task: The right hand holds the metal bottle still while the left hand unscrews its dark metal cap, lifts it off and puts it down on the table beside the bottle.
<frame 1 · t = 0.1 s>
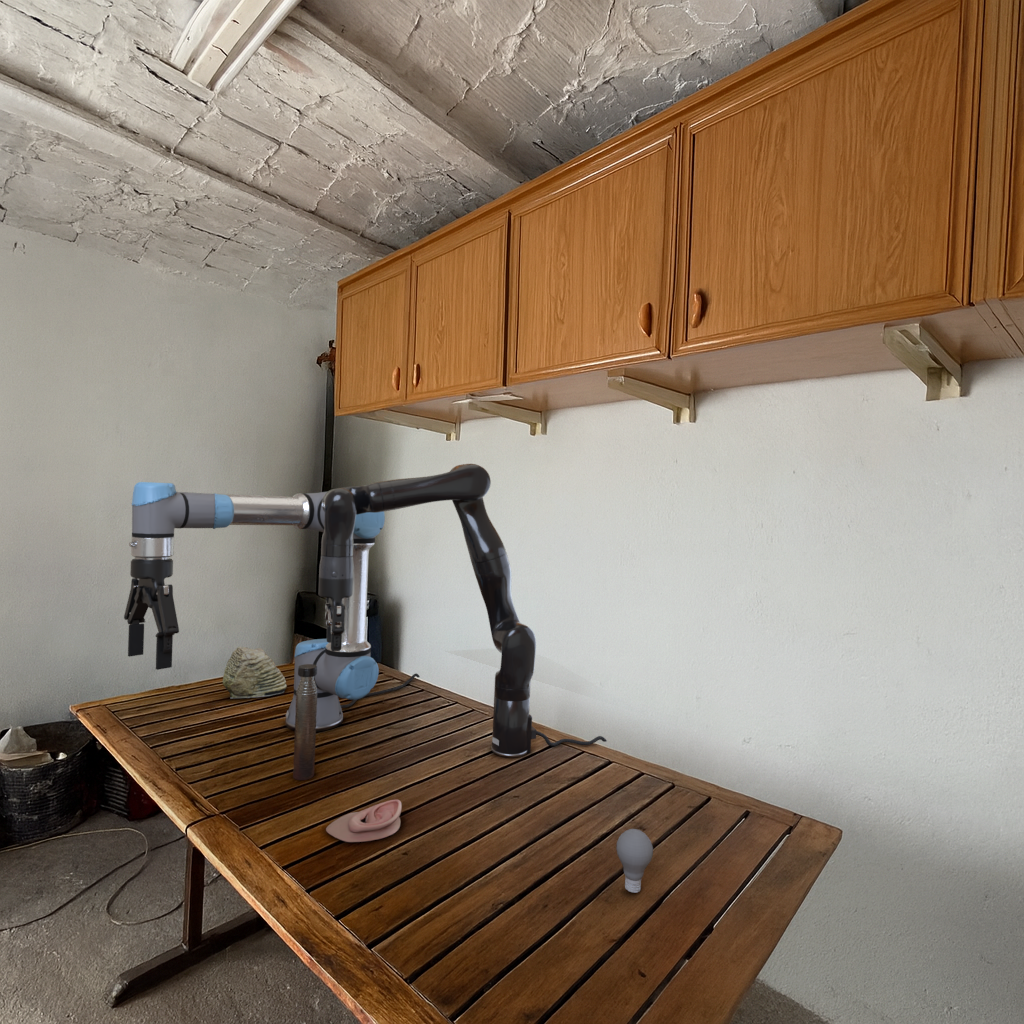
left hand: (149, 661, 129), 28 cm above the table, tool pointing down, fingers open, 13 cm apart
right hand: (333, 646, 145), 29 cm above the table, tool pointing down, fingers open, 8 cm apart
bottle: (303, 775, 143), on the table
fossil: (254, 694, 198), on the table
cap: (307, 667, 143), point 25 cm above the table, screwed on, not yet turned
light bulb: (632, 891, 106), on the table
anatomical model: (364, 828, 122), on the table
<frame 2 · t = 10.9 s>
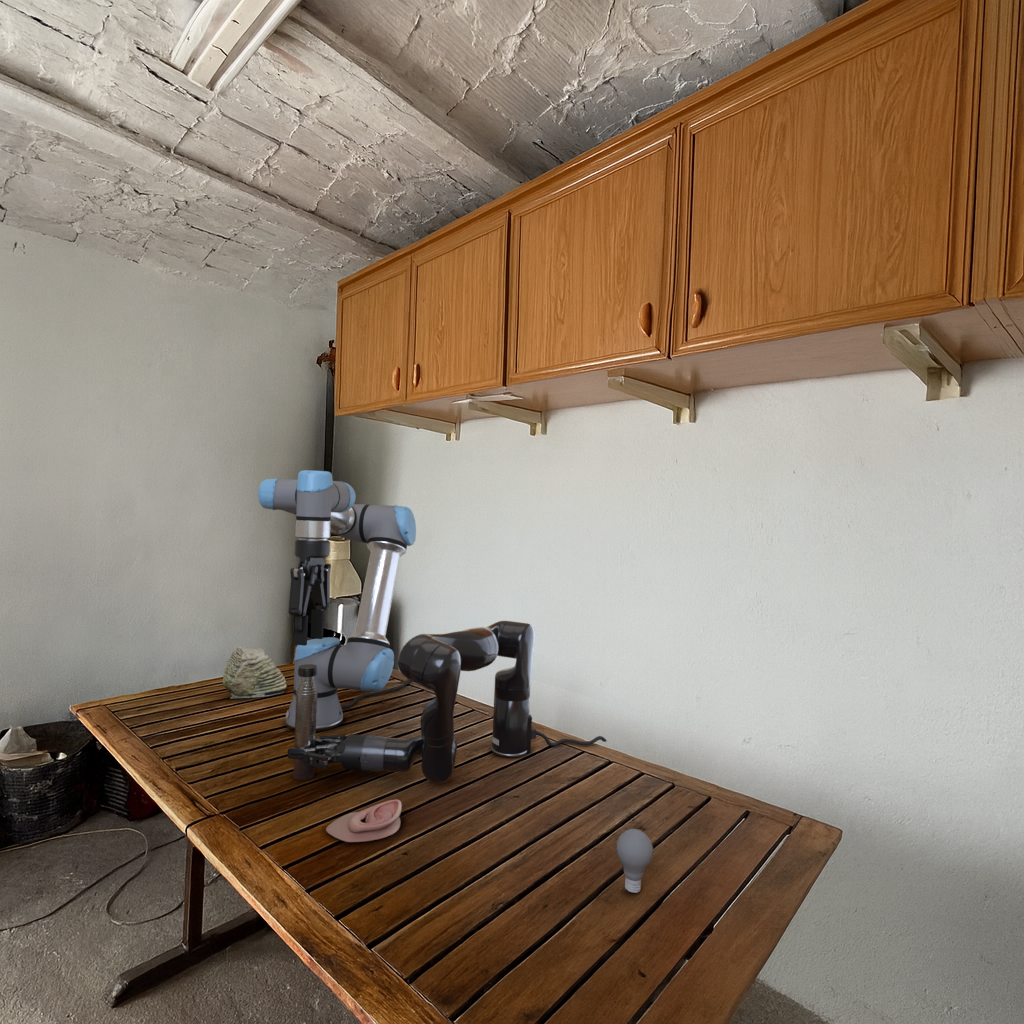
left hand: (308, 641, 143), 31 cm above the table, tool pointing down, fingers open, 6 cm apart
right hand: (293, 748, 143), 6 cm above the table, tool horizontal, fingers closed on bottle, 4 cm apart
bottle: (303, 775, 143), on the table, touching right hand
everything else where it was.
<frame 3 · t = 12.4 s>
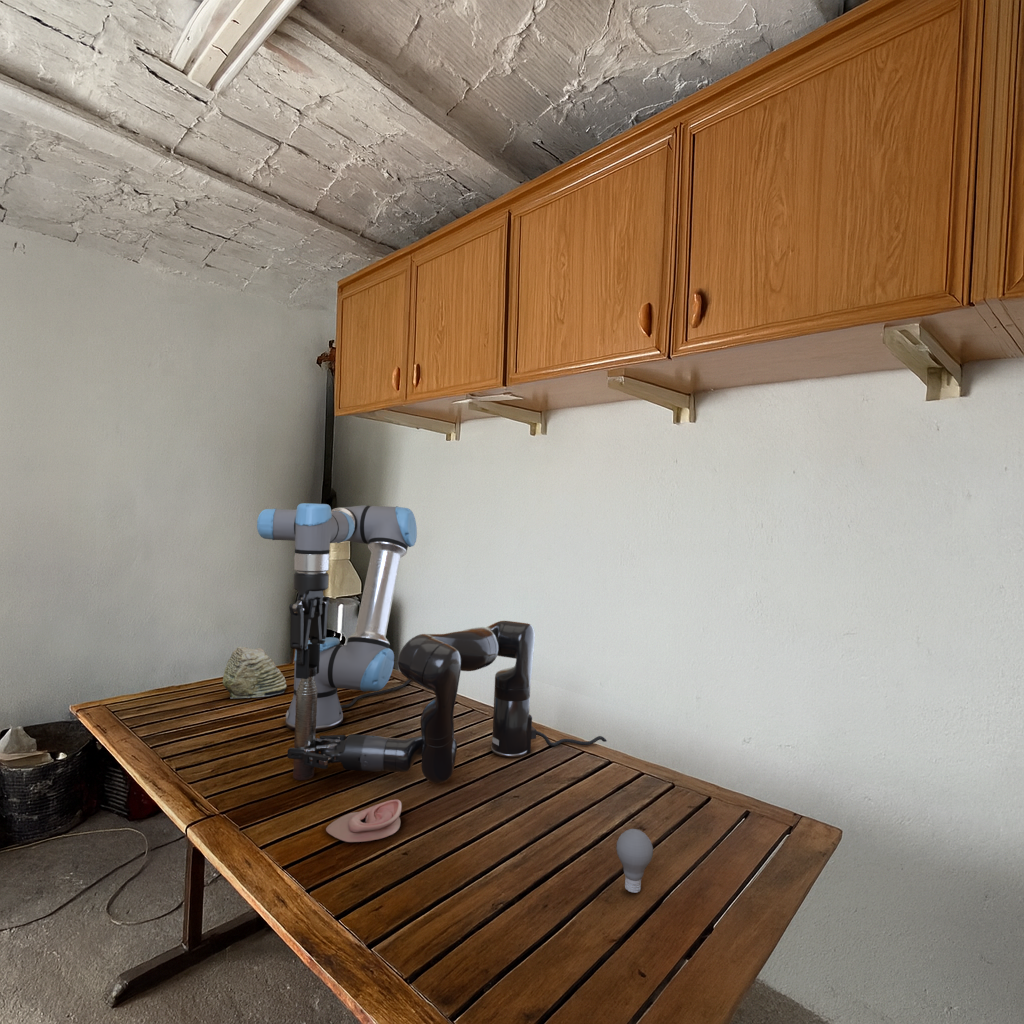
left hand: (307, 675, 143), 23 cm above the table, tool pointing down, fingers closed on cap, 4 cm apart
right hand: (293, 748, 143), 6 cm above the table, tool horizontal, fingers closed on bottle, 4 cm apart
bottle: (303, 775, 143), on the table, touching right hand
cap: (307, 667, 143), point 25 cm above the table, screwed on, not yet turned, touching left hand
everything else where it was.
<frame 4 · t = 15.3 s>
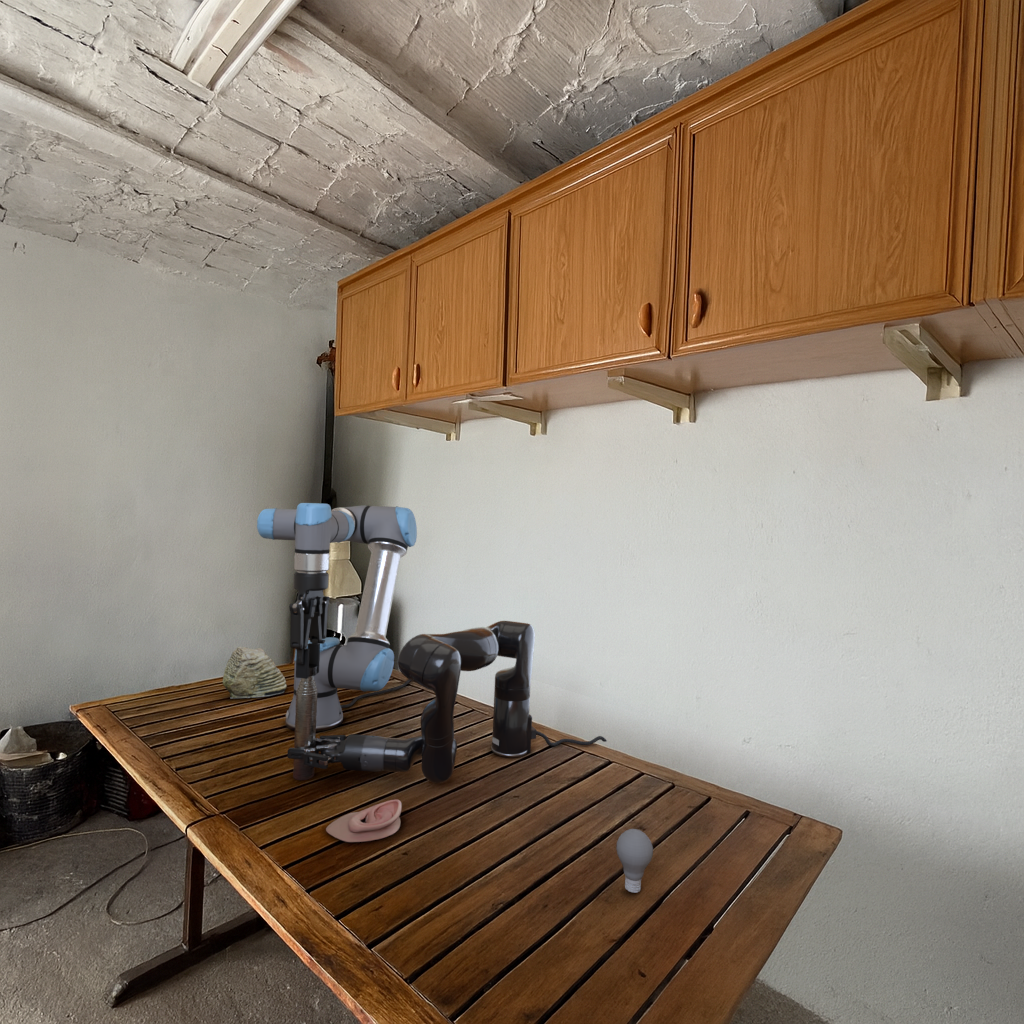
left hand: (307, 674, 143), 23 cm above the table, tool pointing down, fingers closed on cap, 4 cm apart
right hand: (293, 748, 143), 6 cm above the table, tool horizontal, fingers closed on bottle, 4 cm apart
bottle: (303, 775, 143), on the table, touching right hand
cap: (307, 667, 143), point 25 cm above the table, turned 82° so far, risen 0.1 cm, still on its thread, touching left hand
everything else where it was.
when the left hand's fingers open (1 cm above the table, at t = 34.4 s): cap drops 1 cm, point 2 cm above the table.
when the right hand's fingers open (6 cm above the table, at t = 35.6 s): bottle stays where it is, on the table.
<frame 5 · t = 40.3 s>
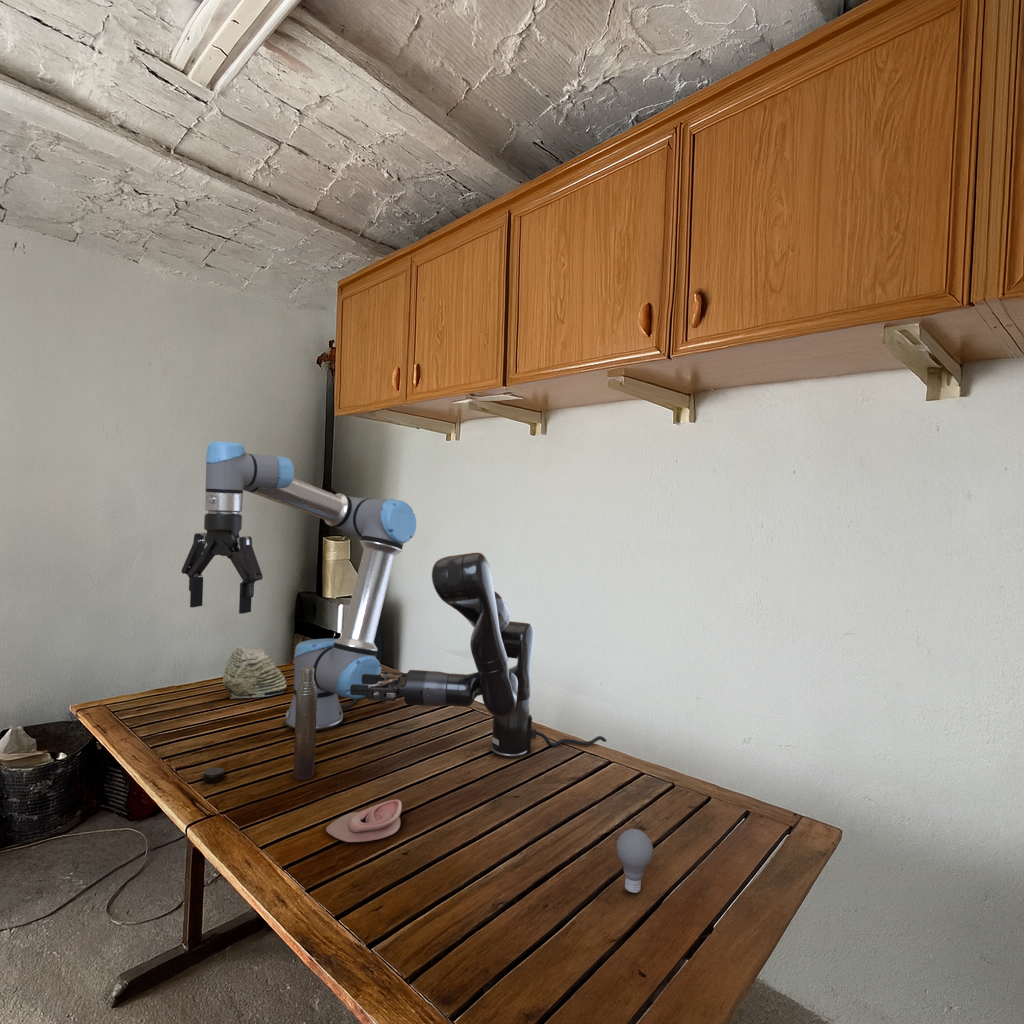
left hand: (220, 609, 139), 38 cm above the table, tool pointing down, fingers open, 13 cm apart
right hand: (356, 683, 142), 22 cm above the table, tool horizontal, fingers open, 8 cm apart
bottle: (303, 775, 143), on the table
cap: (214, 772, 139), point 2 cm above the table, off its thread
everything else where it was.
at the end: cap came off its thread; cap point 1.6 cm above the table; the left hand is holding nothing; the right hand is holding nothing; bottle tilted 0°; bottle moved 0.0 cm from its start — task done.
